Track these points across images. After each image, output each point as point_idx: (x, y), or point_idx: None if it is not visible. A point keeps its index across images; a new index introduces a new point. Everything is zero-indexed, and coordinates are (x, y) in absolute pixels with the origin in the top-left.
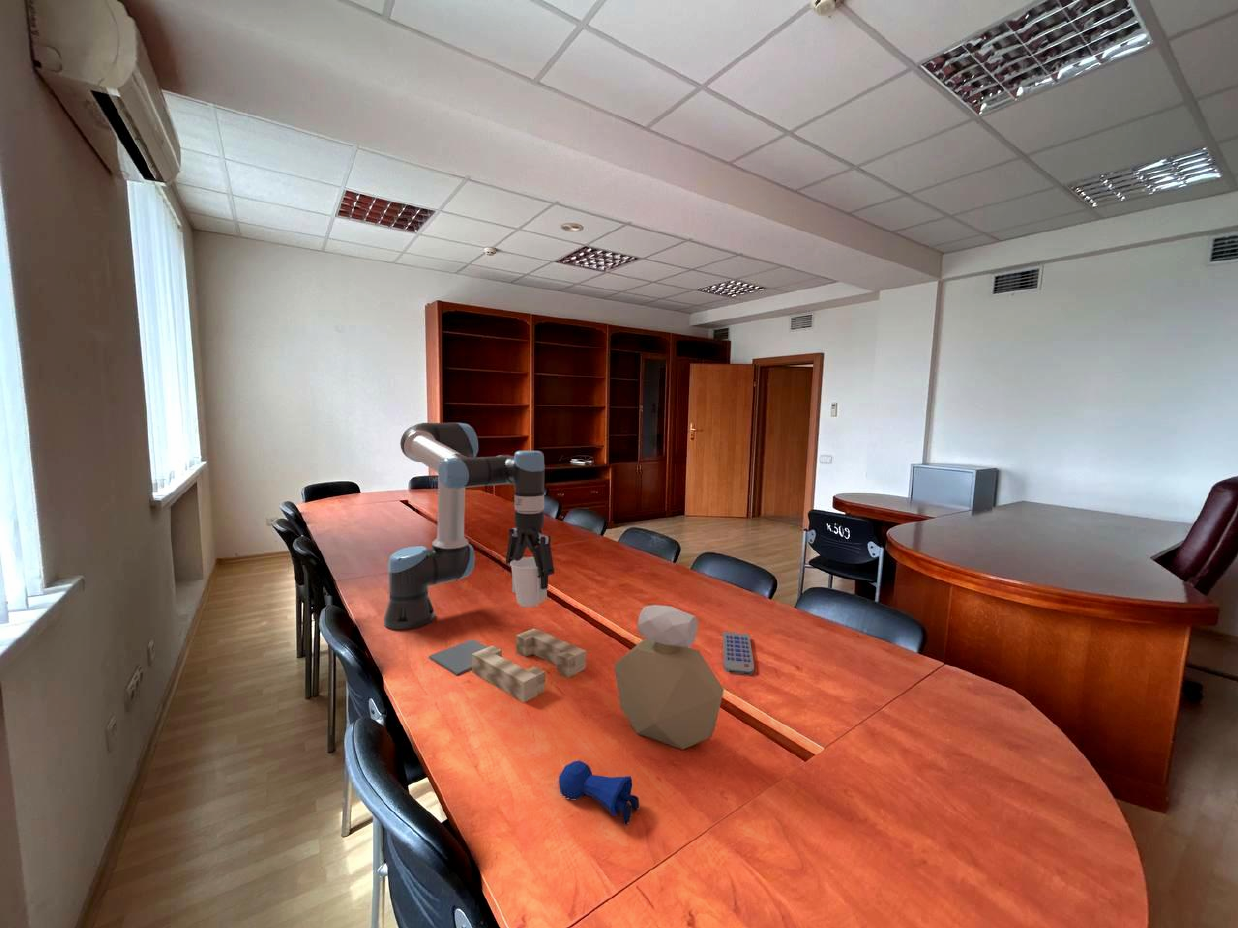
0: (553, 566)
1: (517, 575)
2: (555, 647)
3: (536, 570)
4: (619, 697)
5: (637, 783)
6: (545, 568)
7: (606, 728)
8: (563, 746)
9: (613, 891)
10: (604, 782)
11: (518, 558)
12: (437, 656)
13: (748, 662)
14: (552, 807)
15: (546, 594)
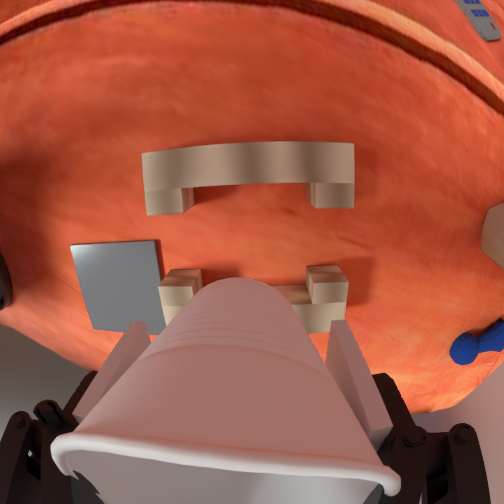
0: (483, 463)
1: (250, 500)
2: (278, 182)
3: (357, 500)
4: (490, 258)
5: (497, 301)
6: (440, 495)
7: (459, 264)
8: (432, 323)
9: (493, 364)
10: (492, 348)
11: (90, 497)
12: (101, 322)
13: (488, 17)
14: (451, 366)
15: (352, 336)
